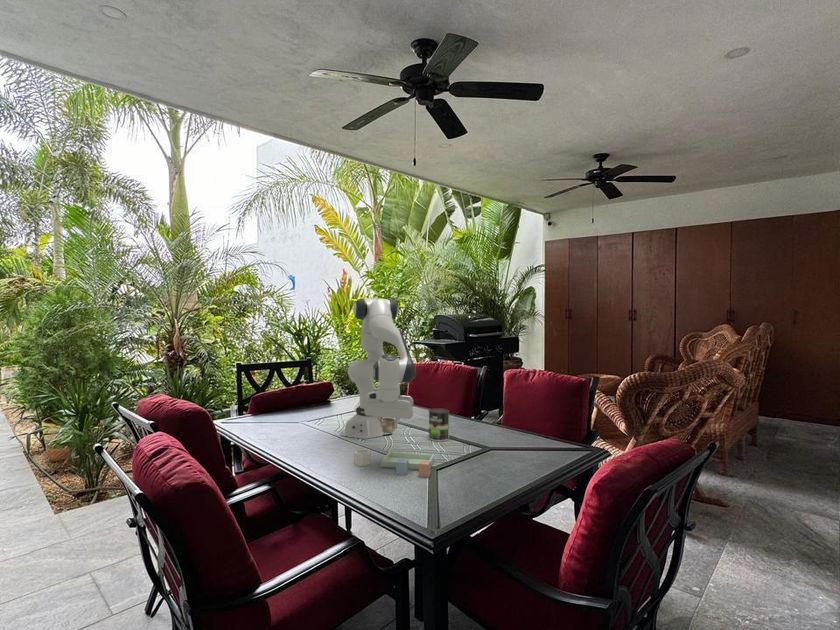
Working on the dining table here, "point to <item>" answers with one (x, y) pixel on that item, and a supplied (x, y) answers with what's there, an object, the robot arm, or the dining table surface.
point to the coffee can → (439, 424)
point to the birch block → (388, 425)
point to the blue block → (402, 466)
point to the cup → (362, 457)
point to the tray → (414, 459)
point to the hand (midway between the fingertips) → (388, 427)
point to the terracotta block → (424, 468)
